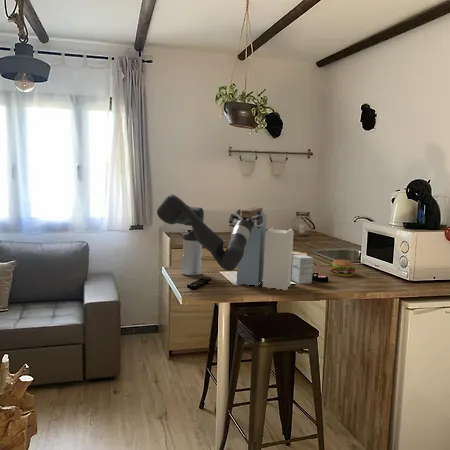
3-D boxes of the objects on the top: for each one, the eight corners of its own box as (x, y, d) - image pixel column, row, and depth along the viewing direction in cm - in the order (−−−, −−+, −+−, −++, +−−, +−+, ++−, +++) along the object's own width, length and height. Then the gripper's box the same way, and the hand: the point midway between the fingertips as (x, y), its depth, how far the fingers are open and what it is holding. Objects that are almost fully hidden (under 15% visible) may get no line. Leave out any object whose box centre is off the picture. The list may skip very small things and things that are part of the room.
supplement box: (291, 280, 234) (292, 254, 232) (304, 279, 236) (306, 254, 235) (298, 283, 227) (300, 257, 225) (312, 283, 229) (313, 257, 228)
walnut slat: (250, 218, 206) (250, 211, 205) (241, 217, 207) (241, 210, 206) (262, 214, 229) (262, 207, 228) (254, 213, 230) (254, 207, 229)
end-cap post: (286, 290, 213) (290, 231, 210) (262, 287, 216) (265, 229, 213) (290, 284, 224) (293, 228, 221) (267, 282, 227) (270, 227, 224)
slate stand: (257, 286, 218) (261, 214, 214) (236, 284, 221) (239, 213, 217) (263, 280, 230) (267, 212, 227) (243, 278, 233) (246, 211, 229)
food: (358, 278, 245) (359, 263, 244) (330, 276, 247) (331, 261, 247) (355, 273, 259) (356, 258, 258) (328, 271, 261) (329, 256, 260)
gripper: (225, 238, 204) (234, 217, 217) (258, 241, 200) (265, 219, 213) (223, 224, 200) (233, 203, 212) (256, 227, 196) (264, 205, 208)
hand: (249, 211), depth 212 cm, fingers open, 8 cm apart
